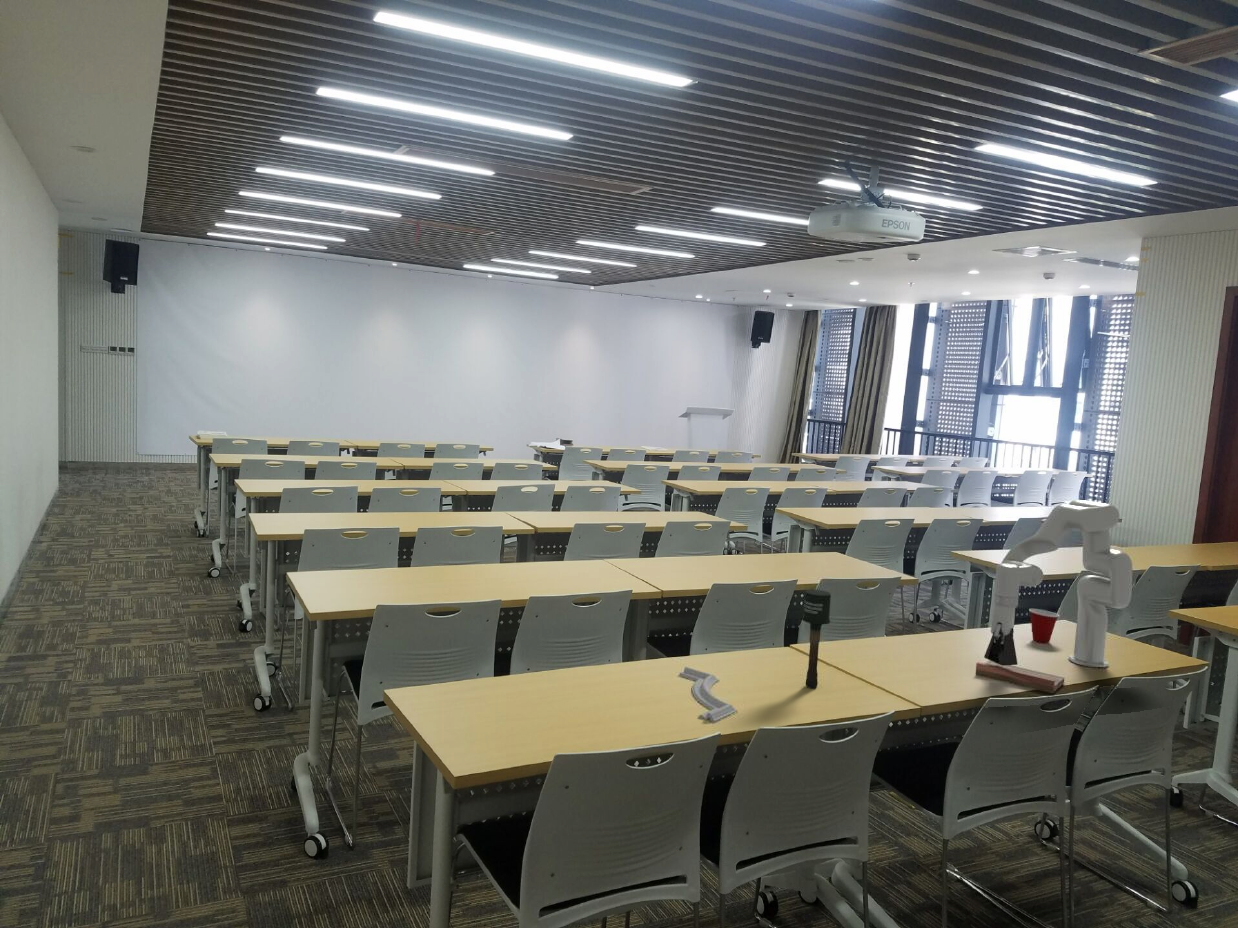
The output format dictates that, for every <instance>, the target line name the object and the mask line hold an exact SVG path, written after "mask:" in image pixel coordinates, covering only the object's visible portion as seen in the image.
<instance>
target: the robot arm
mask: <svg viewBox="0 0 1238 928" xmlns="http://www.w3.org/2000/svg"><path fill="white" fill-rule="evenodd" d="M1120 516H1121V515H1120V511H1119V509H1118V508H1117V507H1116V506H1115V505H1112V504H1109V503H1105V502H1096V501H1091V500H1085V499H1084V500H1082V499H1075V500H1071V501H1070V502H1069V503H1068V504H1057V505H1056V506H1055V507H1054V508H1053V509H1052V510H1051V512H1049V515H1048V516H1046V518H1045V520H1044V522H1042V525H1040V527H1039V528H1038V530H1037V531H1036V532H1035V534H1034V535H1032V536H1030V537H1028V538H1026V539H1024V540H1022V541H1020V542H1019V543H1017V544H1015V545H1014V546H1013V547H1012V548H1010V550H1008V552H1007V553H1006V555H1005V556H1004V557H1003V559H1002V561H1001V563H999V564H997V565H996V570H995V579H994V590H993V592H994V593H993V602H992V604H993V605H994V608H993V612H992V619H991V625H990V633H991V635H993V633H995V634H994V637H995V638H994V649H993V654H995V655H998V653H1000V651H1001V648H1002V651H1003V652H1004V644H1003V643H1004V638H1005V636H1006V635H1008V634H1009V633H1010V631H1011V629H1012V628H1013V629H1015V618H1016V615H1015V614H1016V608H1017V607H1018V606H1019V595H1020V593H1019V592H1020V587H1031V588H1032V587H1037V586H1038V585H1040V584H1041V583H1043V580H1044V572H1043V570H1042V569H1041V568H1040V567H1039V566H1037V565H1035V564H1031V563H1028V562H1024V561H1026V560H1027V559H1028V558H1031V557H1034V556H1037V555H1042V554H1046V553H1047V554H1048V553H1051V552H1055V551H1057V550H1058V549H1059V548H1060V547H1061V546H1062V544H1063V543H1064V541H1065V539H1066V538H1067V537H1068V536H1069V534H1070V532H1072V531H1075V532H1079V533H1082V566H1083V568H1084V569H1085V570H1086V571H1088V572H1089V573H1094V574H1099V575H1101V576H1098V575H1094V574H1093V575H1090V574H1088V575H1084V576H1082V577H1081V578H1079V580H1078V582H1077V584H1076V585H1077V586H1076V591H1077V592H1076V593H1077V601H1078V602H1077V604H1078V607H1077V616H1076V617H1077V619H1076V629H1075V630H1076V632H1075V638H1074V648H1073V649H1074V650H1073V653H1072V654H1070V655H1068V660H1069V661H1070V662H1072V663H1074V664H1077V665H1080V666H1084V667H1090V668H1098V667H1100V668H1101V667H1103V668H1107V667H1108V666H1109V662H1108V660H1106V659H1105V652H1106V651H1105V649H1106V640H1107V632H1108V622H1109V621H1108V620H1109V617H1108V616H1109V615H1108V611H1107V609H1106V608H1107V607H1110V608H1114V609H1119V610H1121V609H1125V608H1126V607H1128V606H1129V604H1130V602H1131V601H1132V600H1131V599H1132V594H1133V590H1132V589H1133V561H1132V559H1131V557H1130V556H1129V554H1128V553H1126V552H1125V551H1123V550H1119V549H1118V550H1117V549H1112V548H1111V533H1110V529H1113V528H1114V527H1115V526H1117V525H1118V523H1119V522H1120V521H1119V520H1120ZM1104 576H1107V577H1109V578H1107V577H1104ZM1105 606H1106V607H1105ZM1000 633H1003V635H1002V634H1000ZM1000 636H1001V637H1002V639H1001V637H1000Z"/></svg>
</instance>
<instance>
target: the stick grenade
mask: <svg viewBox="0 0 1238 928" xmlns="http://www.w3.org/2000/svg"><path fill="white" fill-rule="evenodd" d="M831 598H832V595H831V593H830V592H829V591H827V590H821V589H807V590H805V592H804V601H803V603H804V605H803V616H801V621H803V622H806V623H808V624H810V626H809V653H808V665H807V666H808V667H807V671H806V679H805V687H807V688H808V687H810V688H809V689H816V688H817V687H818V683H819V682H818V661H819V646H820V641H821V630H822V625H828V624H831V619H830V614H831ZM815 687H816V688H815Z"/></svg>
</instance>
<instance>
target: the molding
mask: <svg viewBox="0 0 1238 928" xmlns="http://www.w3.org/2000/svg"><path fill="white" fill-rule="evenodd" d="M683 669H684V670H683V672H680V673H679V674H678V677H680V676H681V678H685V679H687V680H690V679H691V681H694V683H693V684H692V688H691V692H692V696H693V697H694V699H695V700H696V702H698V703H699V704H701V705H702V706H703V707H704V708H706V709H708V711H706V712H704V713H702V714H700V715H698V718H699V719H702V718H703V719H702V720H705V719H707V720H709V722H711V721H712V722H711V723H714V724H716V723H717V722H720V721H722V720H721V719H723V720H725V719H726V717H727V716H729V717H731V716H732V715H731V714H733V715H735V714H736V713H735V712H737V711H738V712H739V710H738V709H736V708H735V707H733V705H732V704H730V703H728V702H725V701H723V700H721V699H719V698H718V697H716V696H715V695H714V694H712V692H711V689H712V688H713V686H714V685H716V684H717V683H719V682H720V679H719V678H717V677H716V676H715V675H714V674H711V673H708V672H705V671H701V670H698V669H695V668H691V667H689V666H688V667H687V666H685V667H684V668H683ZM718 681H719V682H718ZM715 683H716V684H715ZM709 709H710V710H709ZM734 713H735V714H734ZM730 715H731V716H730ZM724 718H725V719H724ZM727 718H728V717H727Z"/></svg>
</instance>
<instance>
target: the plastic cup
mask: <svg viewBox="0 0 1238 928" xmlns="http://www.w3.org/2000/svg"><path fill="white" fill-rule="evenodd" d="M1028 610H1029V614H1030V622H1031V623H1030V625H1031V632H1032V640H1033V642H1034V643H1039V644H1049V643H1050V641H1051V639H1052V635H1053V631H1054V628H1055V627H1056V626H1055V625H1056V622H1057V620H1058V618H1059V617H1060V614H1058V613H1056V612H1052V611H1048V610H1044V609H1038V608H1029V609H1028Z"/></svg>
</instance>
